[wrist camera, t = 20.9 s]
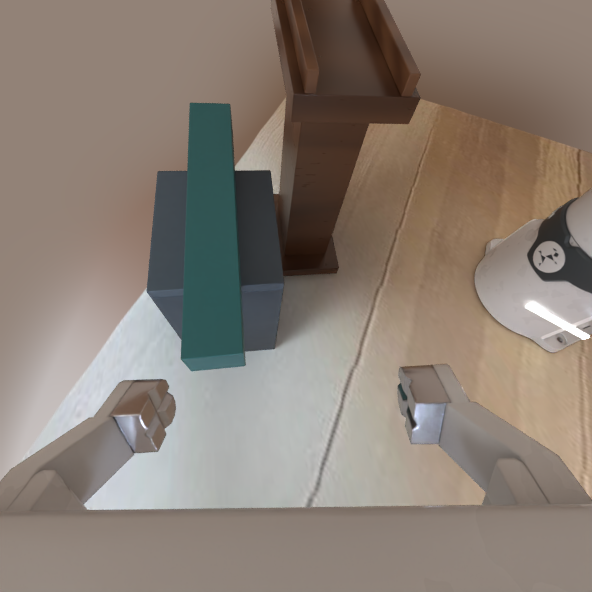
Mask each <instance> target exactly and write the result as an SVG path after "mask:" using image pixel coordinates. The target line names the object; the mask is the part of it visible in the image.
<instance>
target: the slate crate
mask: <svg viewBox="0 0 592 592" xmlns="http://www.w3.org/2000/svg"><path fill="white" fill-rule="evenodd" d="M235 183H236V201H237V219H238V237H239V256H240V274H241V292H242V310H243V328H244V346H245V351H256V350H267V349H275V343H276V336H277V329H278V322H279V315H280V308H281V301H282V295H283V288H284V277H283V269H282V261H281V253H280V245H279V237H278V228H277V220H276V212H275V204H274V196H273V187H272V179H271V171H270V170H261V171H235ZM186 199H187V171H158V173H157V184H156V194H155V205H154V216H153V227H152V238H151V250H150V260H149V271H148V282H147V293H148V294H149V296H150V297H151V298H152V300H153V301H154V303H155V304H156V305H157V307H158V308H159V309H160V311H161V312H162V314H163V315H164V316H165V318H166V319H167V321H168V322H169V323H170V325H171V326H172V327H173V329H174V330H175V332H176V333H177V334H178V336H179V337H180V339H181V340H182V314H183V286H184V257H185V228H186Z"/></svg>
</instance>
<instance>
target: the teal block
mask: <svg viewBox="0 0 592 592" xmlns="http://www.w3.org/2000/svg"><path fill="white" fill-rule="evenodd" d="M181 360H182V361H183V362H184V363H185V364H186V366H187V367H188V368H189V369H190V370H191V371H199V370H209V369H220V368H230V367H240V366H245V365H246V364H245V346H244V328H243V310H242V292H241V274H240V256H239V237H238V219H237V201H236V183H235V165H234V147H233V130H232V119H231V107H230V104H218V103H217V104H216V103H190V113H189V142H188V170H187V199H186V228H185V257H184V286H183V314H182V343H181Z"/></svg>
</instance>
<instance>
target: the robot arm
mask: <svg viewBox="0 0 592 592" xmlns="http://www.w3.org/2000/svg"><path fill="white" fill-rule="evenodd" d="M475 287H476V290H477V293H478V296H479V298H480V300H481V302H482V303H483V305H484V306H485V308H486V309H487V310H488V312H489V313H490V314H491V315H492V316H493V317H494V318H495V319H496V320H497V321H498V322H500V323H501V324H502V325H504V326H505V327H507V328H508V329H510V330H512V331H514V332H516V333H518V334H521V335H523V336H526V337H528V338H530V339H532V340H533V341H535V342H536V343H537V344H538V345H540V346H541V347H542V348H544V349H545V350H547V351H549V352H552V353H555V352H558V351H560V350H562V349H564V348H566V347H568V346H569V345H571V344H573V343H575V342H577V341H579V340H581V339H583V340H584V339H587V338H590V336H589V335H591V334H592V188H590V189H589V190H588V191H587V192H586V193H584V194H583V195H582V196H581V197H578V198H574V199H572V200H570V201H568V202H567V203H566V204H564V205H562V206H560V207H559V208H557V209H556V210H555V211H554V212H553V213H551V215H550V216H549V217H547V218H546V219H538V220H537V219H533V220H531V221H529V222H527V223H526V224H525V225H523V226H522V227H520V228H519V229H518V230H516V231H515V232H514V233H512V234H511V235H509V236H508V237H507V238H505V239H493V240H491V241H490V242H488V243H487V246H486V253H485V256H484V258H483V259H482V260H481V261H480V263H479V264H478V266H477V268H476V271H475ZM398 376H399V379H400V382H401V383H400V384H399V385H398V391H397V394H398V403H399V408H400V411H401V414H402V415H403V416H404V417H405V418H406V421H405V427H406V430H407V434H408V437H409V440H410V443H411V444H439V446H440V447H441V448H442V449H443V450H444V451H445V452H446V453H447V454H448V455H449V456H450V457H451V458H452V459H453V460H454V461H455V462H456V463H457V464H458V465H459V466H460V467H461V468H462V469H463V470H464V471H465V472H466V473H467V474H468V475H469V476H470V477H471V478H472V479H473V480H474V481H475V482H476V483H477V484H478V485H479V486H480V487H481V488H482V489H483V490H484V491H485V492H486V494H485V497H484V500H483V503H482V505H444V506H367V507H295V508H218V509H140V510H87V509H86V508H85V506H84V505H83V504H84V503H85V502H86V501H87V500H88V499H89V498H91V497H92V496H93V495H94V494H95V493H96V492H97V491H98V490H99V489H100V488H101V487H102V486H103V485H104V484H105V483H106V482H107V481H108V480H109V479H110V478H111V477H112V476H113V475H114V474H115V473H116V472H117V471H118V470H119V469H120V468H121V467H122V466H123V465H124V464H125V463H126V462H127V461H128V460H129V459H130V458H131V457H132V456H133V455H134V453H146V452H158V451H159V449H160V447H161V445H162V442H163V440H164V438H165V436H166V432H165V428H166V427H167V426H169V425H170V424H171V423H172V421H173V418H174V416H175V410H176V404H175V400H174V397H173V396H172V395H171V394H170V393H168V392H167V391H168V389H169V385H168V383H167V381H166V380H163V379H150V380H124V381H122V382H120V383H119V384H118V385H117V386H116V388H115V389H114V390H113V392H112V393H111V394H110V396H109V397H108V398H107V400H106V401H105V402H104V404H103V405H102V407H101V408H100V409H99V411H98V412H97V413H96V415H95V416H94V417H92V418H88V419H86V420H85V421H83V422H82V423H80V424H79V425H77V426H76V427H74V428H73V429H71V430H70V431H68V432H67V433H65V434H64V435H62V436H61V437H59V438H58V439H56V440H55V441H53V442H51V443H50V444H48V445H47V446H45V447H44V448H42V449H41V450H39V451H38V452H36V453H35V454H33V455H32V456H30V457H29V458H27V459H26V460H24V461H23V462H21V463H20V464H18V465H17V466H15V467H14V468H12V469H11V470H10V471H9V472H8V473H7V474H6V476H4V478H3V479H2V480H1V481H0V592H592V500H591V498H590V497H589V496H588V494H587V493H586V492H585V490H584V489H583V488H582V486H581V485H580V484H579V482H578V481H577V480H576V478H575V477H574V475H573V474H572V473H571V471H570V470H569V469H568V467H567V466H566V465H565V463H564V462H563V461H562V459H561V458H560V457H559V456H558V455H557V454H555V453H554V452H552V451H551V450H549V449H548V448H546V447H544V446H543V445H541V444H540V443H538V442H537V441H535V440H534V439H532V438H531V437H529V436H527V435H526V434H524V433H523V432H521V431H520V430H518V429H517V428H515V427H514V426H512V425H510V424H509V423H507V422H506V421H504V420H503V419H501V418H500V417H498V416H497V415H495V414H493V413H492V412H490V411H489V410H487V409H486V408H484V407H483V406H481V405H480V404H478V403H477V402H470V400H469V399H468V397H467V395H466V393H465V392H464V390H463V388H462V386H461V385H460V383H459V381H458V380H457V378H456V376H455V374H454V373H453V371H452V369H451V368H450V366H449V365H448V364H435V365H422V366H405V367H400V368H399V375H398Z"/></svg>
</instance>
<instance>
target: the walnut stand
mask: <svg viewBox="0 0 592 592" xmlns="http://www.w3.org/2000/svg"><path fill="white" fill-rule="evenodd" d="M271 11H272V17H273V22H274V29H275V34H276V39H277V45H278V51H279V57H280V62H281V68H282V73H283V79H284V85H285V90H286V109H285V122H284V136H283V149H282V162H281V176H280V189H279V194H273V196H274V204H275V212H276V220H277V228H278V237H279V245H280V253H281V261H282V269H283V276H295V275H312V274H330V273H337V271H338V268H339V267H338V262H337V257H336V252H335V248H334V243H333V238H332V233H333V230H334V227H335V224H336V221H337V218H338V215H339V212H340V209H341V206H342V203H343V200H344V197H345V194H346V191H347V188H348V185H349V182H350V179H351V176H352V173H353V170H354V167H355V164H356V161H357V158H358V155H359V152H360V149H361V146H362V143H363V140H364V137H365V134H366V131H367V128H368V126H369V123H378V124H409V122H410V120H411V118H412V116H413V113H414V111H415V109H416V107H417V105H418V102H419V100H420V96H419V93H418V91H417V89H416V85H417V83H418V80H419V78H420V76H421V73H420V71H419V69H418V67H417V65H416V63H415V61H414V59H413V57H412V55H411V53H410V51H409V49H408V47H407V45H406V43H405V41H404V39H403V37H402V35H401V33H400V31H399V29H398V27H397V25H396V23H395V21H394V19H393V17H392V15H391V13H390V11H389V9H388V7H387V5H386V3H385V1H384V0H271Z"/></svg>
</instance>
